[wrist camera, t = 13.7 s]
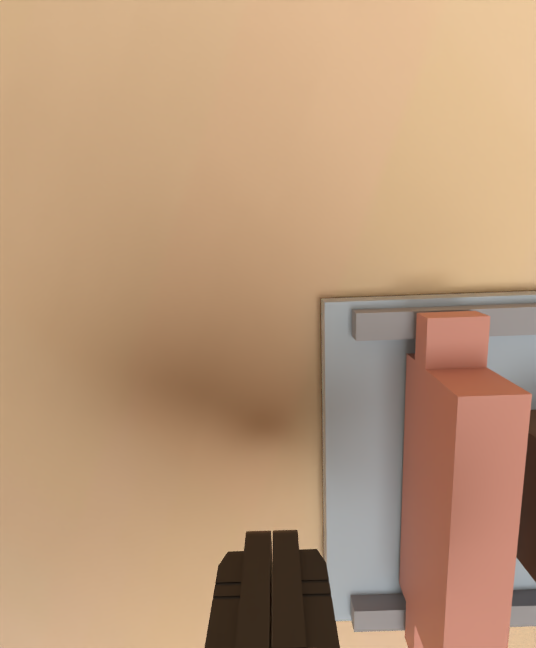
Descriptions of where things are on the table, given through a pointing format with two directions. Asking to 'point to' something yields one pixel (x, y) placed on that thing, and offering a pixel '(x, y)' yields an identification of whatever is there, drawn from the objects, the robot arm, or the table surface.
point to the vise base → (393, 439)
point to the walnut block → (529, 505)
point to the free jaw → (460, 486)
